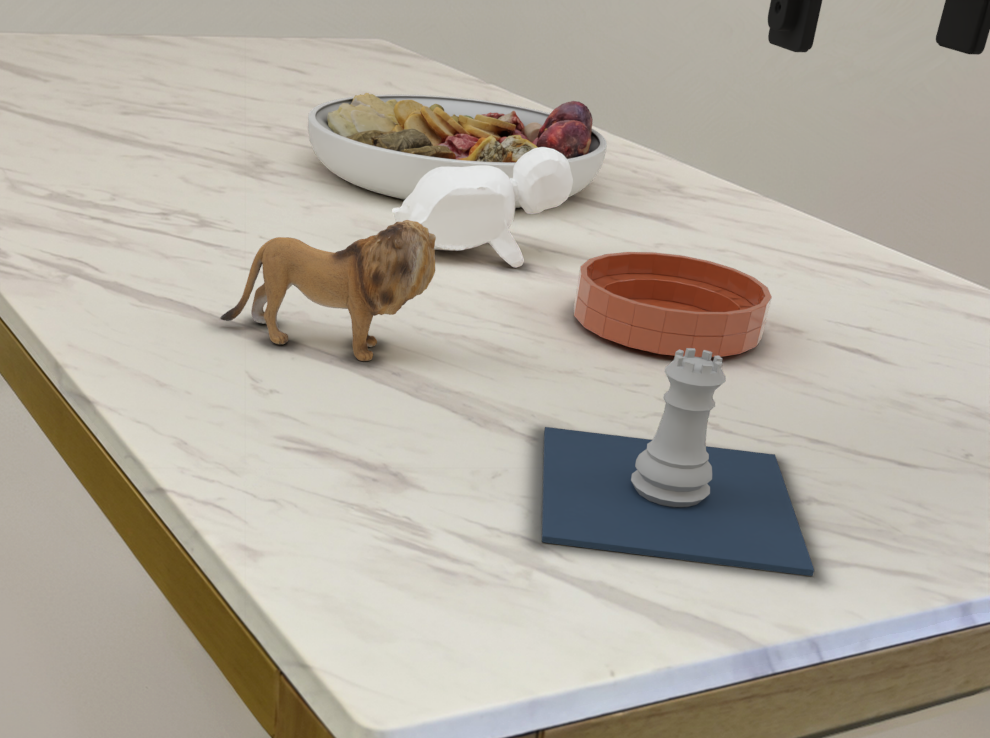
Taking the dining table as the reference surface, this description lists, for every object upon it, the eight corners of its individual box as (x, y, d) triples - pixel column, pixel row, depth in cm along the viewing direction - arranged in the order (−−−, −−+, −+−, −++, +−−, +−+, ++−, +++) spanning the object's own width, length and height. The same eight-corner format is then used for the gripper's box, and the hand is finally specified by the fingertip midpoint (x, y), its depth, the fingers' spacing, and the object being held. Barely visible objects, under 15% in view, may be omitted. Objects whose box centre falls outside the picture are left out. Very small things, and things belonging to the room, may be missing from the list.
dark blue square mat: (773, 460, 77) (775, 454, 77) (812, 576, 65) (814, 569, 65) (544, 432, 78) (545, 426, 78) (541, 542, 66) (542, 536, 66)
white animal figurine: (425, 301, 106) (596, 240, 105) (395, 204, 101) (574, 139, 100) (408, 268, 113) (568, 211, 112) (380, 176, 108) (547, 115, 107)
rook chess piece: (624, 470, 73) (650, 338, 69) (700, 477, 73) (732, 345, 69) (634, 506, 69) (663, 369, 65) (715, 513, 69) (749, 376, 65)
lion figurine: (432, 343, 89) (445, 215, 84) (419, 371, 85) (433, 236, 80) (230, 315, 91) (232, 187, 86) (208, 340, 86) (208, 206, 81)
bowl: (333, 215, 114) (339, 124, 110) (286, 136, 139) (289, 59, 134) (643, 222, 121) (659, 136, 116) (545, 145, 145) (555, 72, 141)
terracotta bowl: (746, 307, 101) (757, 263, 99) (771, 372, 89) (784, 323, 88) (572, 288, 102) (579, 243, 100) (573, 349, 90) (582, 300, 88)
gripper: (847, -411, 49) (755, 61, 58) (1210, -371, 53) (1070, 64, 63) (754, -391, 55) (684, 34, 65) (1086, -357, 59) (975, 38, 69)
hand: (874, 48), depth 64 cm, fingers open, 9 cm apart
